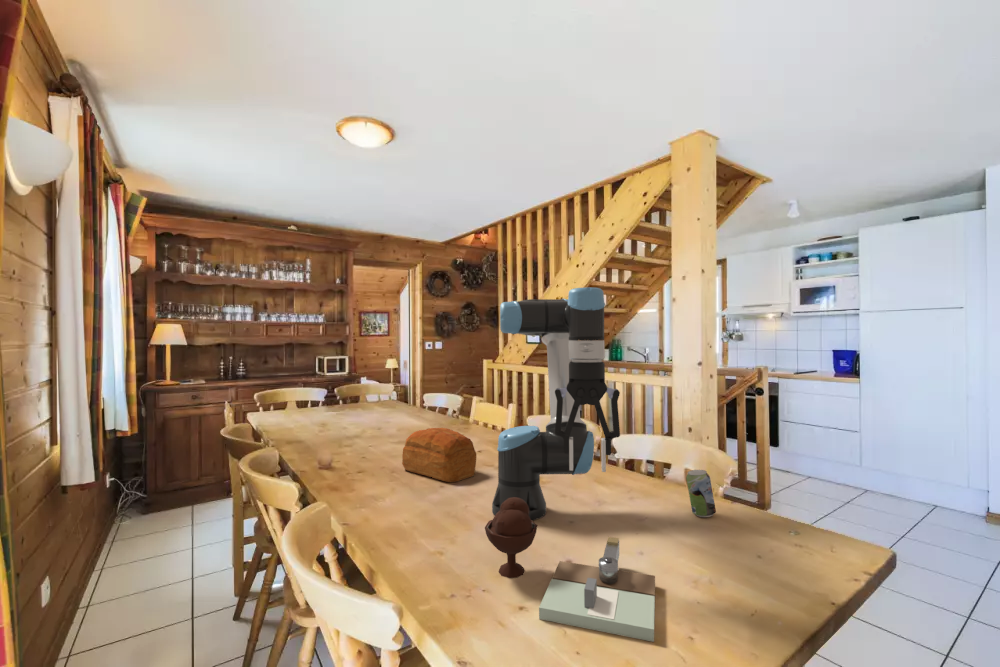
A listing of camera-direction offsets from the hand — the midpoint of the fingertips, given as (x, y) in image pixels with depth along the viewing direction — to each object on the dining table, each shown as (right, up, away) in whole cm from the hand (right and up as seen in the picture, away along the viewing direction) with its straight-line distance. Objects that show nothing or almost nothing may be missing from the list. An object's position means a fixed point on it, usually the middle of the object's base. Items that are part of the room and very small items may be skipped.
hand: (587, 469), depth 98 cm
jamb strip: (+2, -21, -8) cm, 22 cm away
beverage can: (+36, -21, +28) cm, 51 cm away
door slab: (-1, -21, -16) cm, 26 cm away
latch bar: (+4, -18, -5) cm, 19 cm away
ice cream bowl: (-16, -21, -1) cm, 27 cm away
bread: (-41, -22, +70) cm, 84 cm away
